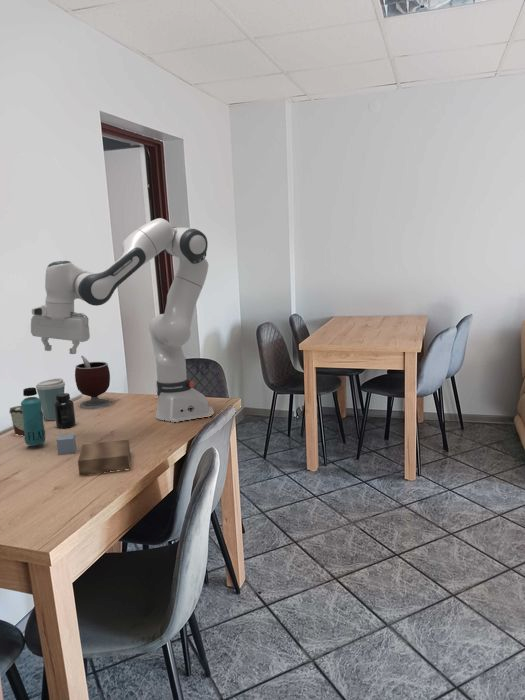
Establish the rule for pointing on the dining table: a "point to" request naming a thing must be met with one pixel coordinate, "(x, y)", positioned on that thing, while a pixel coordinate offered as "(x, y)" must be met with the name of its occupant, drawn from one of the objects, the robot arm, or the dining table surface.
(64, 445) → the slate cube
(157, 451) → the dining table surface
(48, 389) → the disposable coffee cup
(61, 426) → the supplement bottle
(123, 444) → the walnut block
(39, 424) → the beverage bottle
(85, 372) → the mate gourd
